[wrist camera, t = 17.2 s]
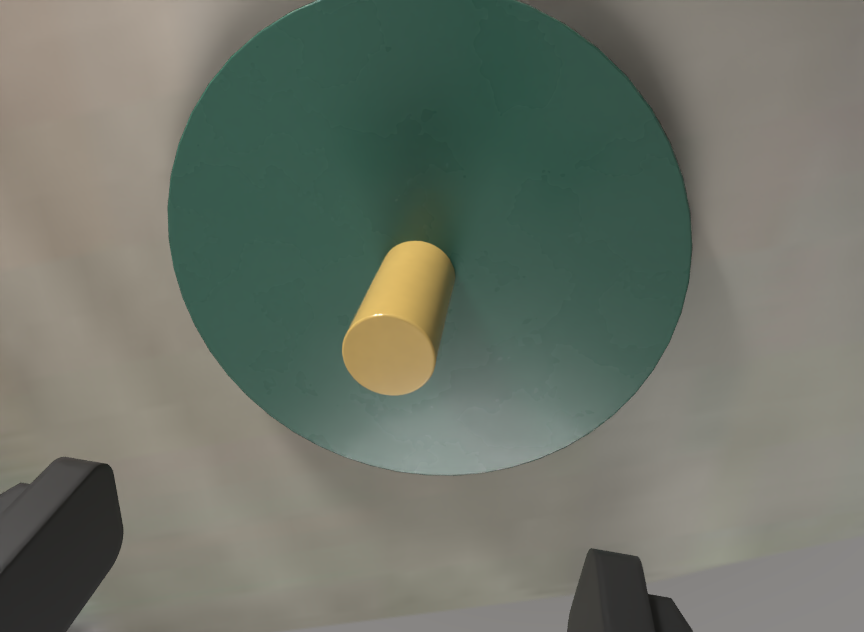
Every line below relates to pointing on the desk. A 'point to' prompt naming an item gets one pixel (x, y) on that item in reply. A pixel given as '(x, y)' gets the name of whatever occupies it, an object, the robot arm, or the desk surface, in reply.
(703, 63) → the desk surface
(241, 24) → the desk surface
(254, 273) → the lid
